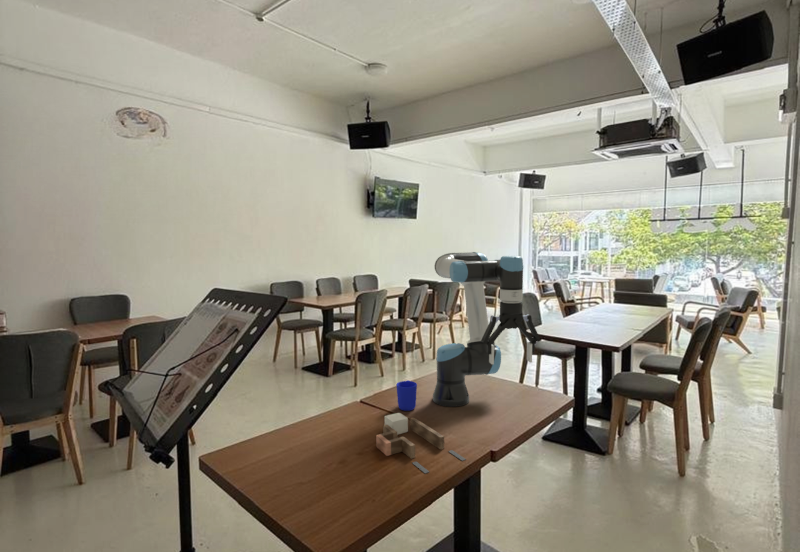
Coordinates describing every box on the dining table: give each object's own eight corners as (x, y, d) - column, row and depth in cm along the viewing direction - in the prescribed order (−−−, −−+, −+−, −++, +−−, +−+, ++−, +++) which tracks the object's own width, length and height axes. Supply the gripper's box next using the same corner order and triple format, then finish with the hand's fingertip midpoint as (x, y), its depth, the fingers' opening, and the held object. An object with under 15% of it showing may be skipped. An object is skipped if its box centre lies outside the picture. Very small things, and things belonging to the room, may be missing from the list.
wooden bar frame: (369, 440, 145) (368, 429, 145) (414, 428, 154) (414, 417, 154) (395, 463, 129) (395, 450, 129) (444, 448, 138) (444, 436, 138)
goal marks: (412, 463, 129) (412, 462, 129) (452, 450, 137) (452, 449, 137) (425, 473, 123) (425, 473, 123) (466, 459, 131) (466, 459, 131)
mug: (418, 401, 180) (418, 378, 180) (416, 412, 168) (416, 387, 168) (398, 401, 181) (398, 377, 180) (395, 412, 169) (395, 387, 168)
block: (384, 429, 154) (384, 416, 153) (399, 425, 157) (399, 412, 156) (393, 436, 148) (392, 421, 148) (407, 431, 152) (407, 418, 151)
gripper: (479, 304, 141) (478, 367, 143) (551, 301, 144) (549, 363, 146) (472, 301, 149) (472, 361, 151) (540, 298, 152) (539, 357, 154)
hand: (510, 362), depth 149 cm, fingers open, 13 cm apart
